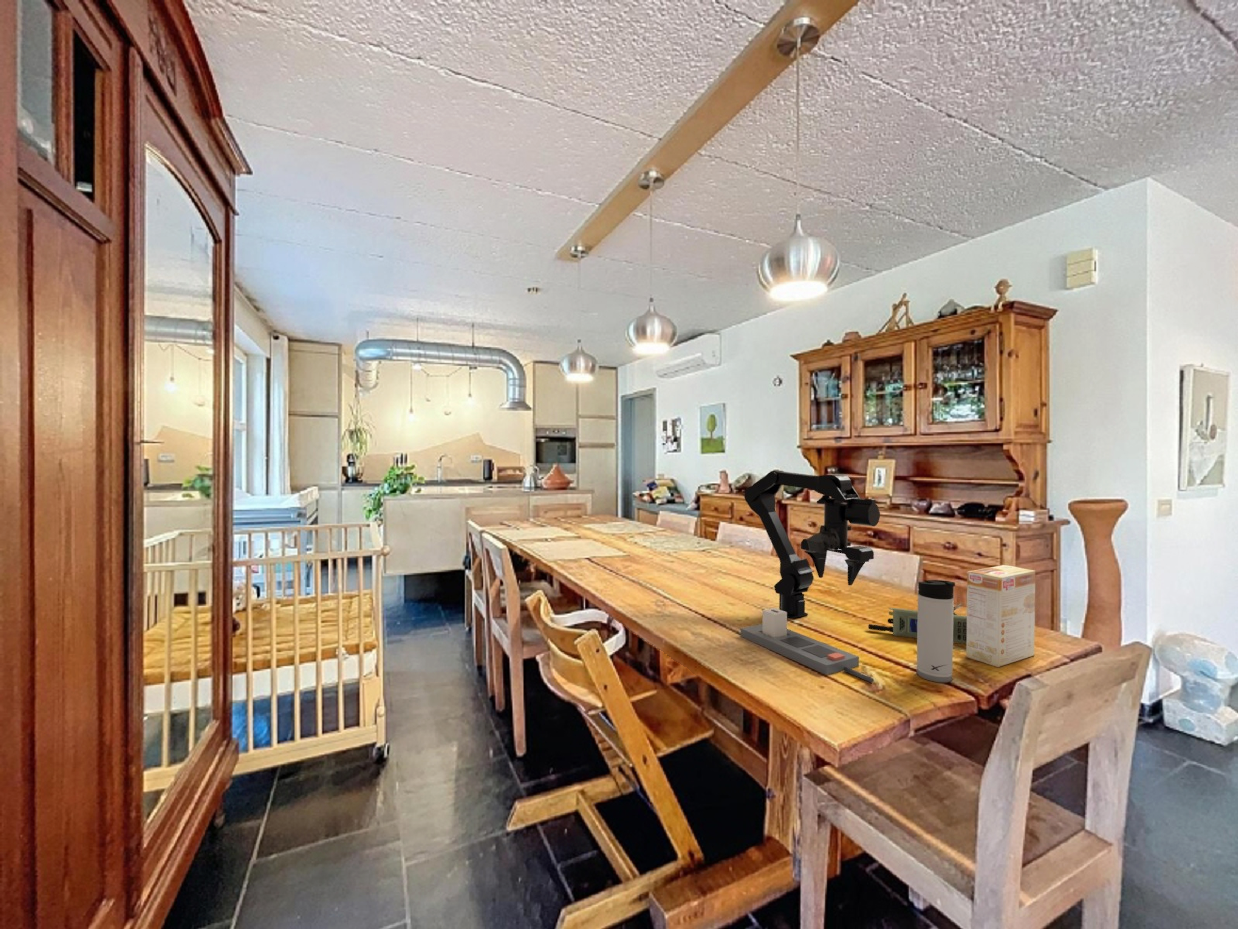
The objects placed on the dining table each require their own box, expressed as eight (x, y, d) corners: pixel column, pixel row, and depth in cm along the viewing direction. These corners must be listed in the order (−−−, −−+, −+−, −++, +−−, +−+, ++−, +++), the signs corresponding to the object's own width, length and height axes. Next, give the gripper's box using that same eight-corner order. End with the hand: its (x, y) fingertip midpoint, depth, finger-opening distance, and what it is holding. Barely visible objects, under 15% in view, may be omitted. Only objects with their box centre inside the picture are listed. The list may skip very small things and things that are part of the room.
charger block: (762, 638, 128) (762, 609, 128) (774, 636, 130) (774, 607, 130) (774, 644, 125) (774, 614, 125) (786, 641, 127) (787, 611, 127)
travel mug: (942, 686, 103) (943, 584, 103) (910, 673, 109) (911, 577, 108) (960, 680, 106) (962, 581, 105) (928, 668, 112) (930, 574, 111)
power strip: (740, 636, 131) (740, 625, 131) (770, 630, 136) (770, 620, 136) (856, 688, 102) (856, 675, 102) (889, 678, 107) (889, 665, 107)
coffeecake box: (1001, 645, 125) (1003, 564, 125) (1036, 656, 119) (1037, 570, 118) (963, 656, 118) (965, 570, 118) (998, 668, 112) (1000, 577, 112)
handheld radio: (985, 648, 124) (868, 633, 134) (982, 644, 127) (868, 630, 137) (986, 620, 124) (868, 607, 134) (982, 616, 127) (868, 604, 137)
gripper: (786, 519, 142) (785, 577, 143) (845, 528, 126) (844, 593, 126) (815, 517, 148) (814, 573, 148) (875, 525, 131) (874, 588, 131)
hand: (835, 581), depth 138 cm, fingers open, 9 cm apart
